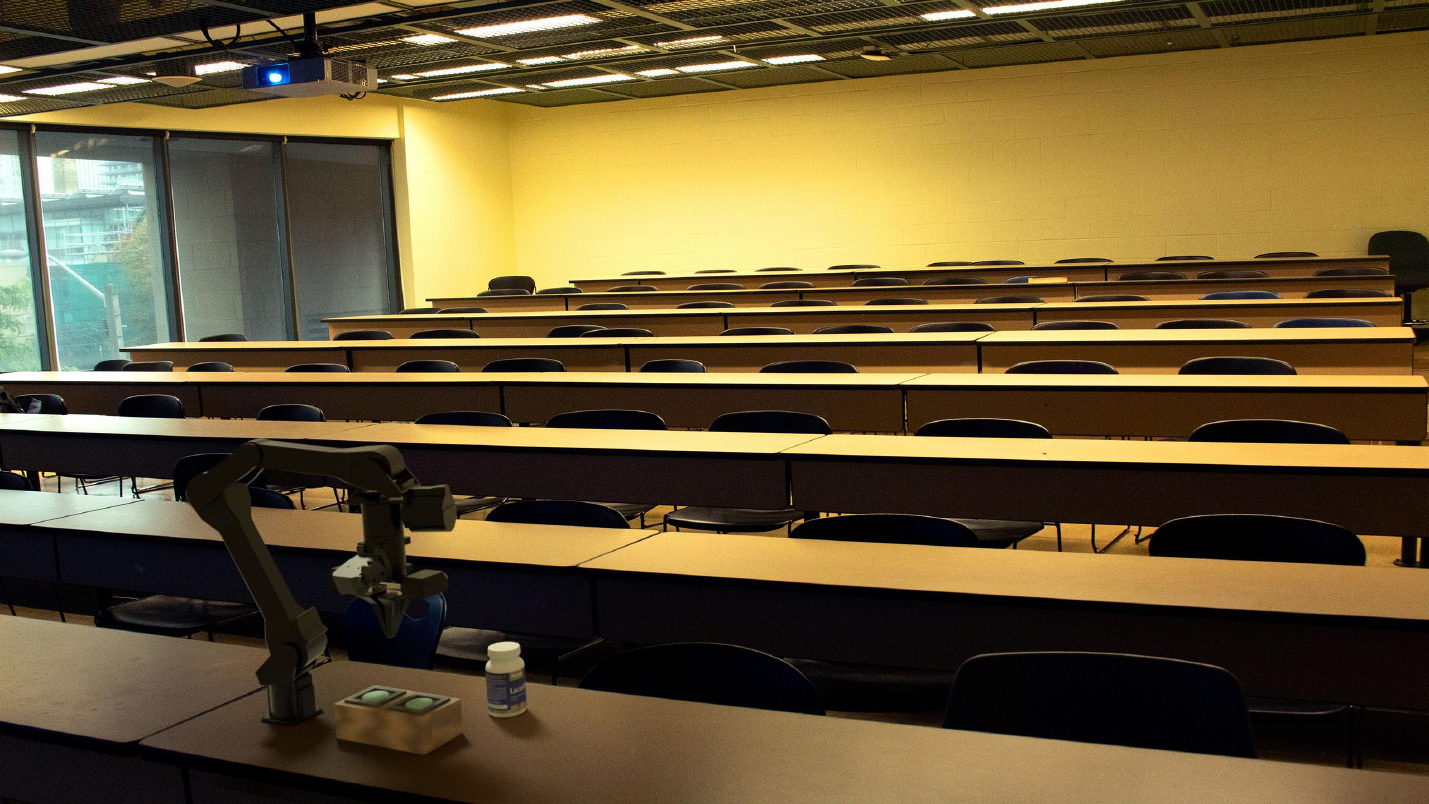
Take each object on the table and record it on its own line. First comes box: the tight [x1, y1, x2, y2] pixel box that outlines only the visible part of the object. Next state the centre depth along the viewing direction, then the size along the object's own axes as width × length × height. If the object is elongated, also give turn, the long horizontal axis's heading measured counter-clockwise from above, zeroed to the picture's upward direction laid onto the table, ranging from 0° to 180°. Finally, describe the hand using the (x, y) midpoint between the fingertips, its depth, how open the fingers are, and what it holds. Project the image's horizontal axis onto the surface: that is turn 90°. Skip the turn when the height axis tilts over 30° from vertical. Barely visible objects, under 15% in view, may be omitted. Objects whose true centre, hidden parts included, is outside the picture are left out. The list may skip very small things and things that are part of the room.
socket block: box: [333, 684, 464, 756], centre depth 159 cm, size 16×8×5 cm, turn 63°
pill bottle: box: [485, 641, 528, 719], centre depth 166 cm, size 6×6×10 cm
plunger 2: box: [406, 698, 432, 710], centre depth 157 cm, size 4×4×5 cm
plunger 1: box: [362, 691, 389, 702], centre depth 161 cm, size 4×4×5 cm
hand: (391, 637), depth 166 cm, fingers closed
